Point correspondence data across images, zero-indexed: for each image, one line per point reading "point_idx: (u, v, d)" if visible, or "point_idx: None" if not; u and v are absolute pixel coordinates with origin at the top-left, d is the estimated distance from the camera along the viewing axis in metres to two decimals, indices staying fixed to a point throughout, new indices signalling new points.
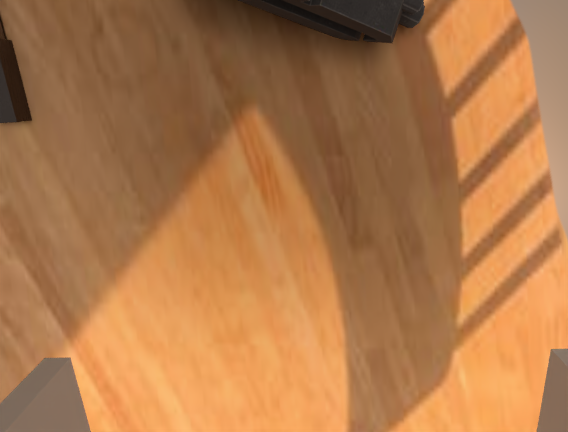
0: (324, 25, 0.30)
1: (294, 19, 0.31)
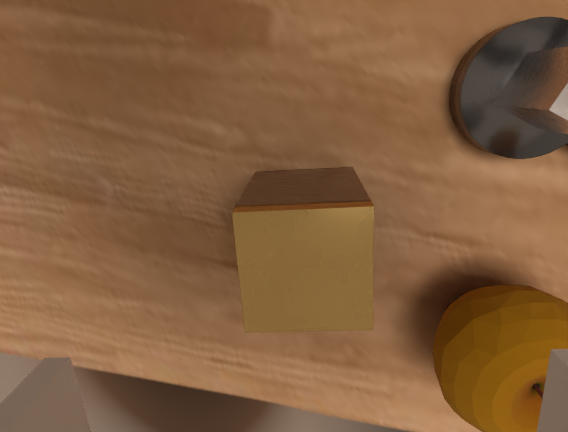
0: None
1: None
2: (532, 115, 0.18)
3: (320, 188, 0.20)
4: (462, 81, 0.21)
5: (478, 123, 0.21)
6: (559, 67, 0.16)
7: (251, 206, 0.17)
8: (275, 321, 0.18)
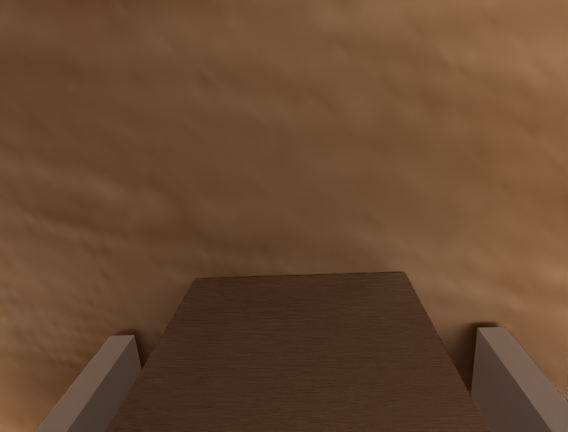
0: None
1: None
2: None
3: (344, 408, 0.06)
4: None
5: None
6: None
7: None
8: None
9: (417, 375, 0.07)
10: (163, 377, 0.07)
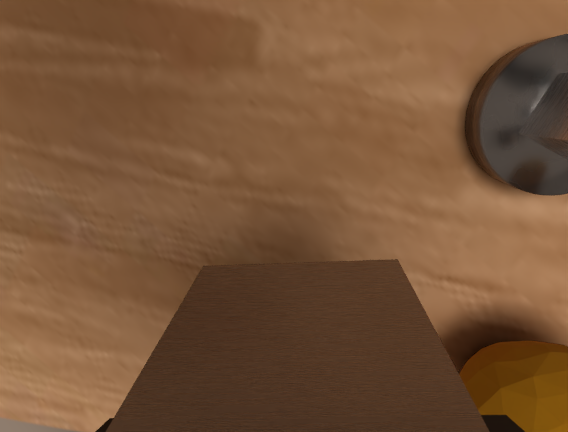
0: None
1: None
2: None
3: (340, 370, 0.07)
4: (482, 106, 0.18)
5: (501, 155, 0.18)
6: None
7: None
8: None
9: (405, 344, 0.08)
10: (178, 347, 0.08)
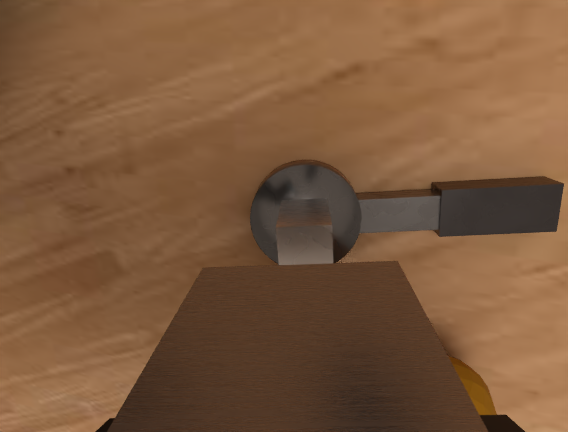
0: None
1: None
2: None
3: (340, 373, 0.07)
4: (255, 236, 0.25)
5: None
6: None
7: None
8: None
9: (405, 347, 0.08)
10: (178, 350, 0.08)
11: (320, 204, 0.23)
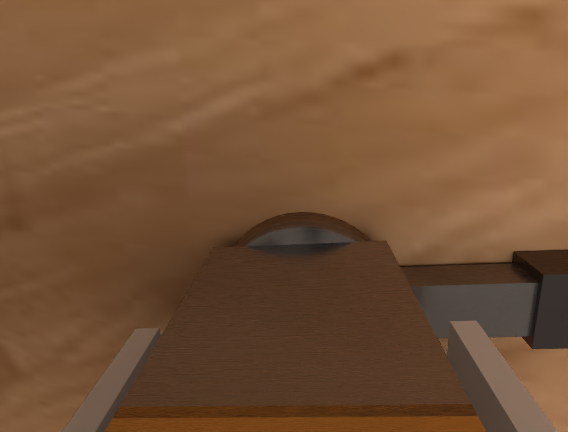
0: None
1: None
2: None
3: (333, 324, 0.09)
4: None
5: None
6: None
7: (154, 419, 0.07)
8: None
9: (388, 305, 0.09)
10: (196, 309, 0.10)
11: None
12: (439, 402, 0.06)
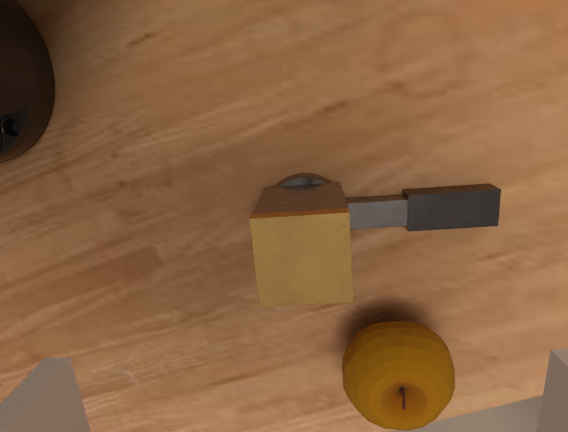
0: None
1: None
2: None
3: (313, 199, 0.26)
4: None
5: None
6: None
7: (262, 214, 0.24)
8: (281, 297, 0.25)
9: (333, 195, 0.27)
10: (265, 200, 0.27)
11: None
12: (339, 208, 0.24)
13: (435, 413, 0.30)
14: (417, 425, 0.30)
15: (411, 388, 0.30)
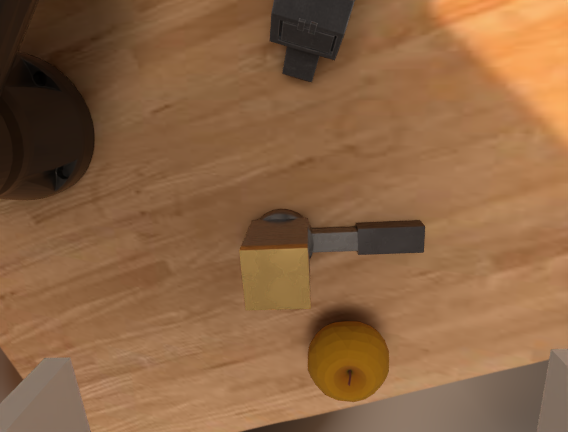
0: None
1: None
2: None
3: (285, 235, 0.37)
4: None
5: None
6: None
7: (248, 247, 0.35)
8: (261, 304, 0.36)
9: (299, 231, 0.38)
10: (251, 233, 0.38)
11: None
12: (301, 243, 0.35)
13: (372, 388, 0.41)
14: (360, 397, 0.41)
15: (355, 370, 0.41)
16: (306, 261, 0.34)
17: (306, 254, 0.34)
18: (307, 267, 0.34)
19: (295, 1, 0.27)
